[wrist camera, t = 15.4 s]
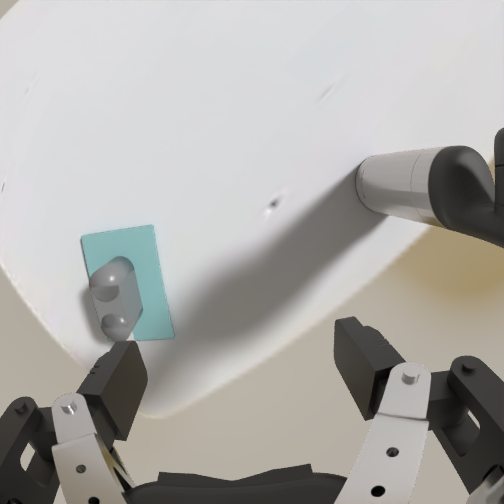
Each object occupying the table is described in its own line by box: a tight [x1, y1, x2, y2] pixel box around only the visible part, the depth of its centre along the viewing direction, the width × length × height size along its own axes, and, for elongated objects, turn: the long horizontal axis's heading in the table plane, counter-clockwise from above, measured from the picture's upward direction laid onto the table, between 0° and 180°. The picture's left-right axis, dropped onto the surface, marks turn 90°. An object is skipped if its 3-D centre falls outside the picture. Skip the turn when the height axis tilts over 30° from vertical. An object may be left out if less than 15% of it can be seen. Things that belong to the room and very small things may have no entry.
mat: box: [81, 225, 175, 341], centre depth 39 cm, size 12×18×1 cm, turn 5°
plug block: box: [89, 256, 143, 342], centre depth 36 cm, size 4×12×7 cm, turn 5°
